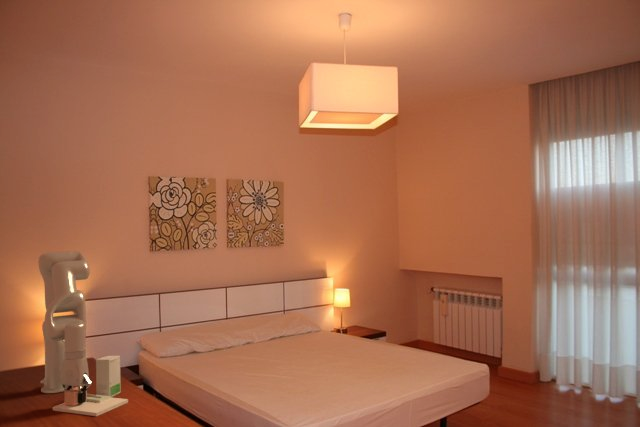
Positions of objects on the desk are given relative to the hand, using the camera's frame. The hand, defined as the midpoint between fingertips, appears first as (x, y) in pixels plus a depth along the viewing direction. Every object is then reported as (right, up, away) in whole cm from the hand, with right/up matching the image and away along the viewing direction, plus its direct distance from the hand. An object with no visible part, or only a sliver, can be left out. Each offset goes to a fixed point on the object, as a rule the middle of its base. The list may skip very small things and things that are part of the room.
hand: (75, 401), depth 198 cm
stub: (0, 0, 0) cm, 0 cm away
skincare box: (+7, -3, +13) cm, 15 cm away
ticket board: (+6, -2, 0) cm, 6 cm away
